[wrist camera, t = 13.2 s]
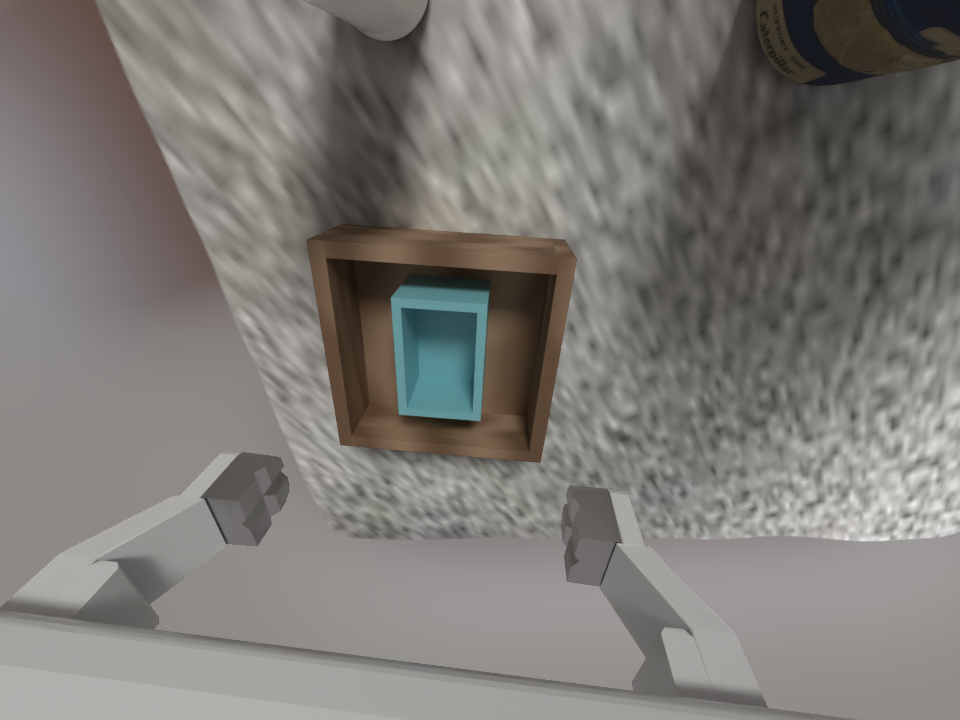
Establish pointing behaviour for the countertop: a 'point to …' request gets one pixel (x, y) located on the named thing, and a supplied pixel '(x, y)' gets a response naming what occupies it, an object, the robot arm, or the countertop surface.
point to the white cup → (376, 15)
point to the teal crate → (441, 345)
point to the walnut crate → (510, 340)
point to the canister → (856, 37)
